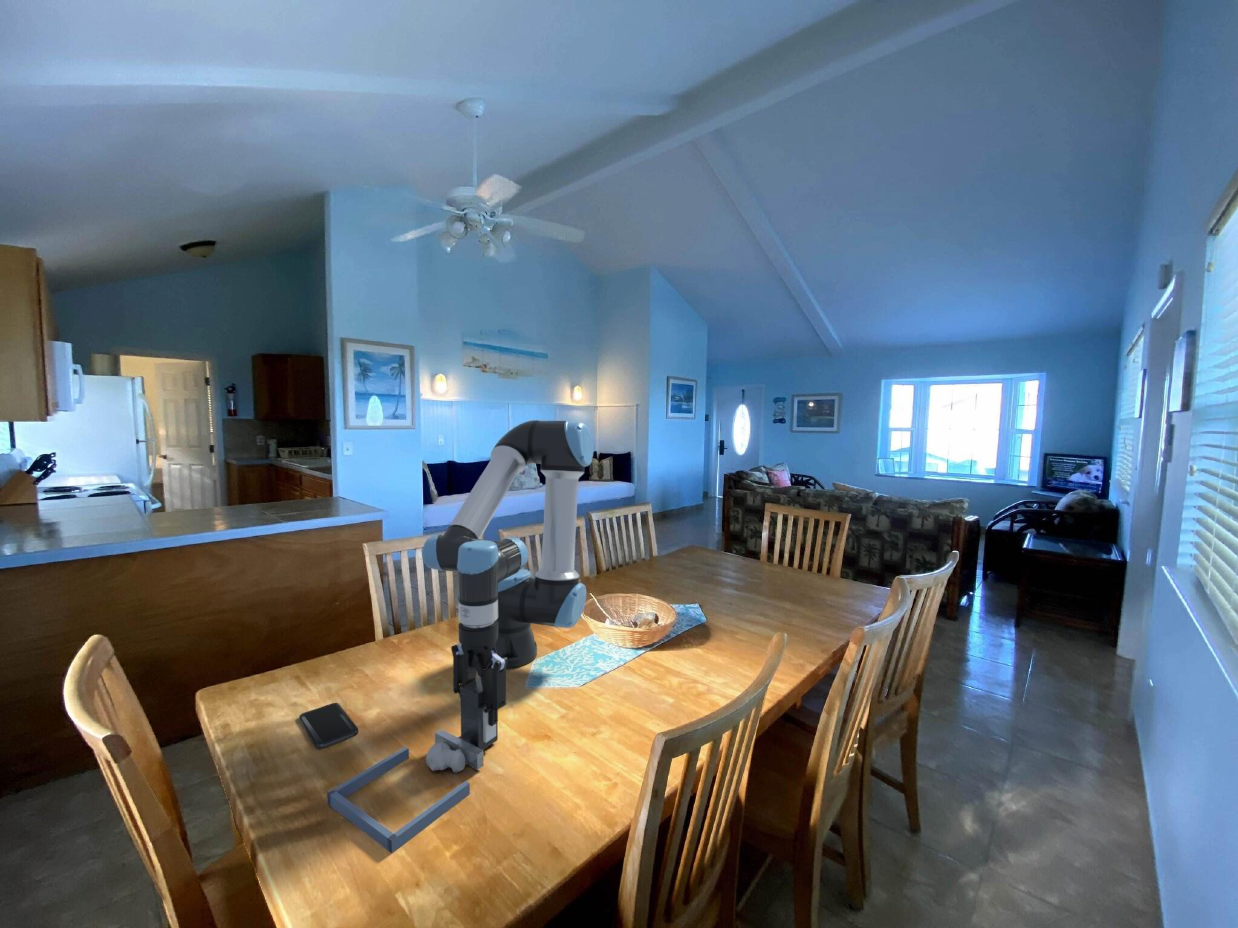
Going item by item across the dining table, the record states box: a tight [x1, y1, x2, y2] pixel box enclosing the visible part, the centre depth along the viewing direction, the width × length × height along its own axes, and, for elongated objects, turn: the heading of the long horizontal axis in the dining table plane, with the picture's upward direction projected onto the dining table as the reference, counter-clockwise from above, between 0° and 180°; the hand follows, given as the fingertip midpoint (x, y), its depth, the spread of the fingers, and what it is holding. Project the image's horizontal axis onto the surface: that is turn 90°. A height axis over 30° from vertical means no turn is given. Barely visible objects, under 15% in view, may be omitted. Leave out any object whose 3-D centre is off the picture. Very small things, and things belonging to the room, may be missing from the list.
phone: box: [298, 702, 359, 750], centre depth 110 cm, size 8×1×15 cm
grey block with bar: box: [434, 676, 499, 771], centre depth 103 cm, size 8×12×12 cm
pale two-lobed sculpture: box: [425, 742, 466, 773], centre depth 98 cm, size 4×8×5 cm
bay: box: [326, 746, 471, 854], centre depth 90 cm, size 15×18×2 cm
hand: (479, 733), depth 105 cm, fingers closed on grey block with bar, 5 cm apart
